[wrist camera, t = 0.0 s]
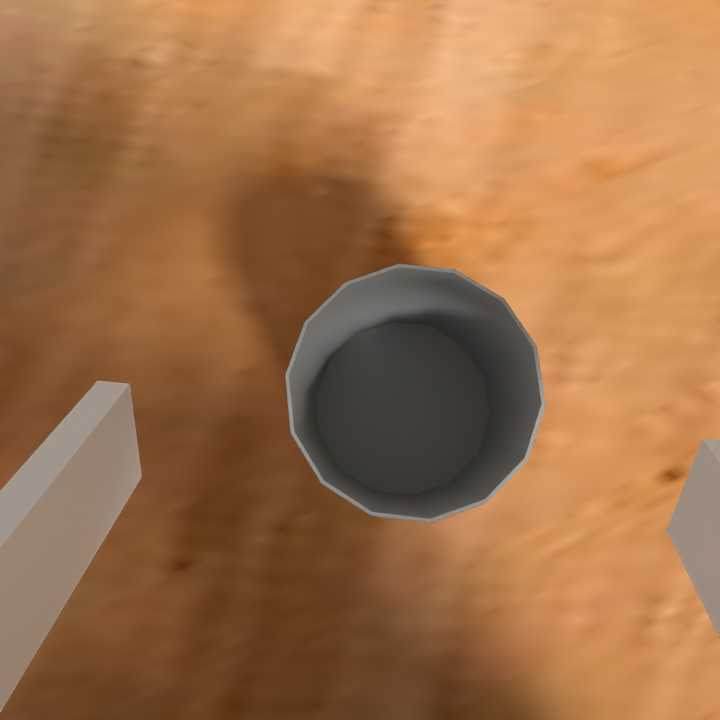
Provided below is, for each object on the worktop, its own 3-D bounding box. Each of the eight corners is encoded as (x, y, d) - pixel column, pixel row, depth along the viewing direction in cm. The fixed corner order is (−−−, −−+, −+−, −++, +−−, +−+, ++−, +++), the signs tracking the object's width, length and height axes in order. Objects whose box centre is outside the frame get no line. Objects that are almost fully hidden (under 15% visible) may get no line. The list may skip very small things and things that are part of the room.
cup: (402, 287, 31) (414, 214, 21) (525, 405, 30) (598, 387, 20) (279, 409, 30) (232, 392, 20) (401, 533, 29) (414, 578, 20)
